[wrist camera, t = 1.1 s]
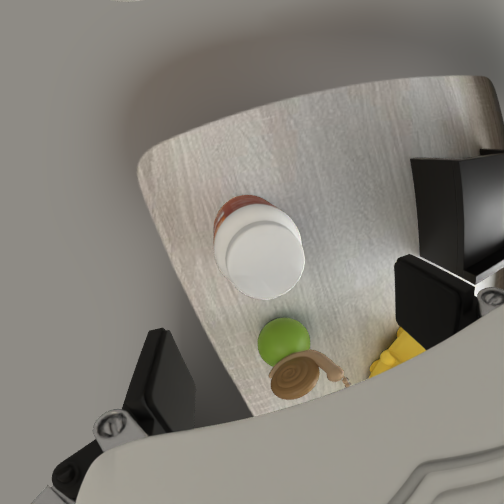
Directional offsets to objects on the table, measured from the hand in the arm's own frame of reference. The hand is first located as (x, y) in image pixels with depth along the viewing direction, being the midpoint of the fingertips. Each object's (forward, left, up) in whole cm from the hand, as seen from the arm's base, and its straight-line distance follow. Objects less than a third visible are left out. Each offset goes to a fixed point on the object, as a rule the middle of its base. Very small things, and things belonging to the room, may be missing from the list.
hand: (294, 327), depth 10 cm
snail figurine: (+12, +1, -18) cm, 21 cm away
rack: (+3, +28, -18) cm, 33 cm away
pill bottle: (0, 0, -18) cm, 18 cm away
